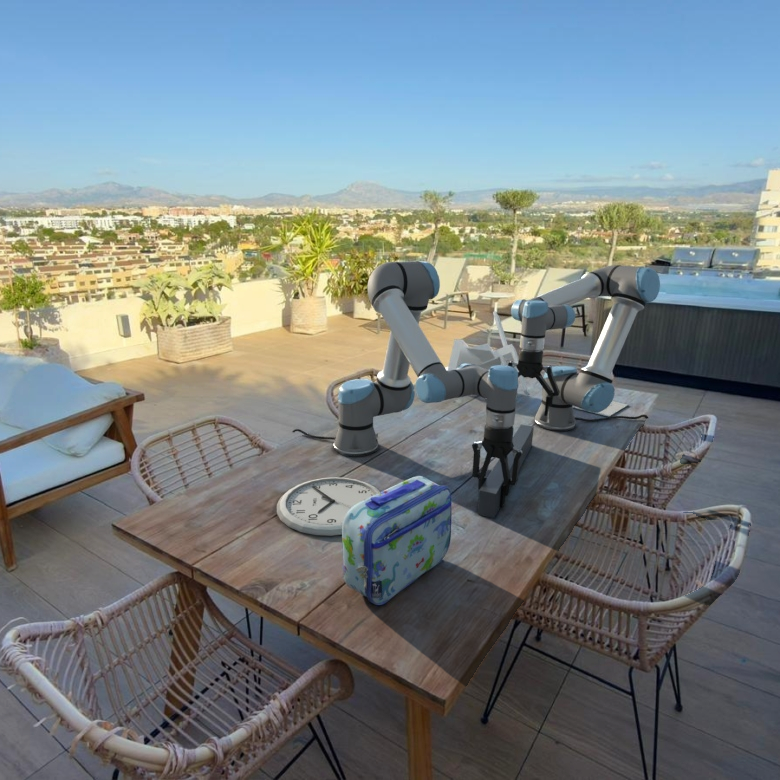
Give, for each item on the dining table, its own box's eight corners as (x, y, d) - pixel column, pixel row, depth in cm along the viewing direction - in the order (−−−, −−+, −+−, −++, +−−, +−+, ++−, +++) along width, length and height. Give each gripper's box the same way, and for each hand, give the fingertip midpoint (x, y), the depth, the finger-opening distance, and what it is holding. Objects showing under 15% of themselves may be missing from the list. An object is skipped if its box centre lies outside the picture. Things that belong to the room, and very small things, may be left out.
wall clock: (392, 527, 129) (268, 531, 127) (391, 533, 130) (269, 537, 127) (383, 473, 158) (282, 475, 155) (383, 478, 158) (282, 480, 156)
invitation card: (608, 416, 214) (573, 407, 224) (608, 416, 214) (573, 408, 224) (628, 404, 229) (594, 396, 238) (628, 405, 229) (594, 397, 238)
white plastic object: (461, 429, 252) (437, 405, 227) (444, 352, 274) (420, 323, 250) (535, 404, 240) (518, 377, 215) (510, 326, 262) (492, 293, 237)
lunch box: (371, 618, 102) (371, 524, 95) (336, 591, 109) (334, 502, 103) (455, 562, 119) (460, 479, 113) (420, 542, 126) (423, 463, 120)
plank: (518, 443, 186) (520, 424, 184) (531, 445, 185) (533, 426, 182) (477, 514, 140) (479, 490, 137) (494, 518, 138) (496, 494, 136)
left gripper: (463, 423, 138) (458, 502, 145) (530, 435, 131) (521, 517, 138) (471, 414, 145) (465, 490, 152) (535, 425, 138) (527, 504, 145)
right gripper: (490, 347, 170) (485, 408, 177) (570, 356, 160) (562, 421, 167) (496, 343, 177) (491, 402, 183) (573, 351, 167) (565, 413, 173)
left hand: (492, 502), depth 145 cm, fingers closed on plank, 4 cm apart
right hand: (525, 411), depth 175 cm, fingers open, 13 cm apart
